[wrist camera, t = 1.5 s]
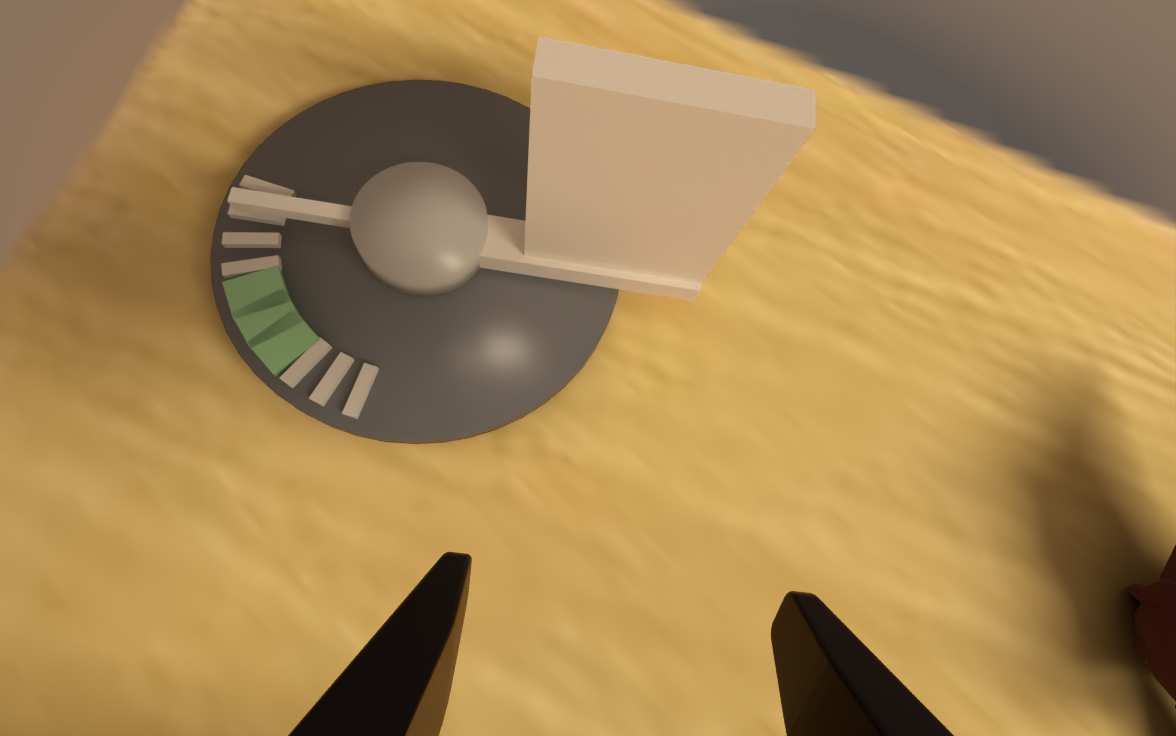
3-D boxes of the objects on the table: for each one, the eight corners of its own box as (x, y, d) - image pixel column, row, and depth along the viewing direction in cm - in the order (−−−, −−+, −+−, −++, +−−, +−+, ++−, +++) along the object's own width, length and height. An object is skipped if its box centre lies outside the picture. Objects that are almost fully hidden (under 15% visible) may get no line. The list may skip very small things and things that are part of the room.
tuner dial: (407, 535, 21) (402, 535, 20) (132, 237, 23) (114, 223, 22) (693, 265, 25) (700, 253, 24) (445, 36, 27) (442, 16, 26)
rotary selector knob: (222, 266, 22) (-6, 50, 12) (259, 154, 23) (82, -118, 14) (691, 337, 23) (816, 195, 14) (697, 227, 25) (814, 30, 15)
